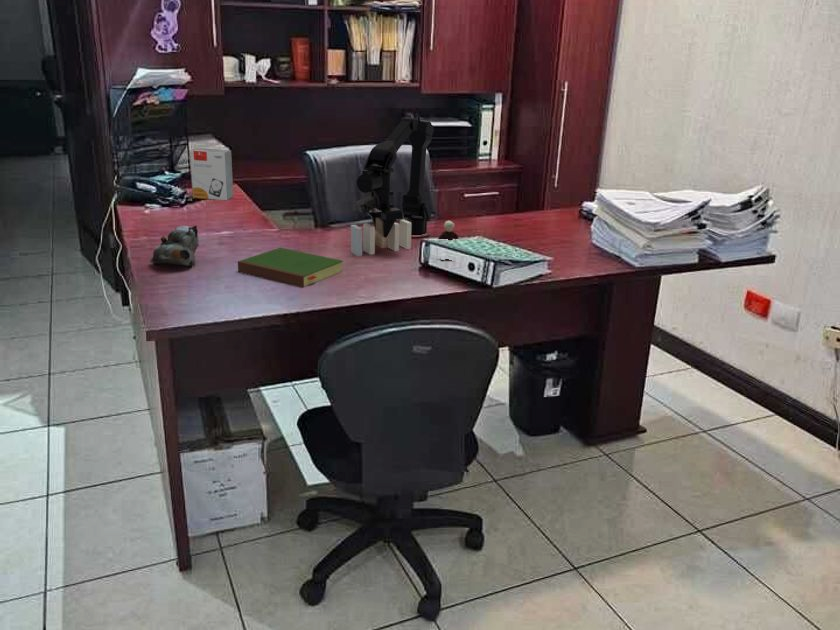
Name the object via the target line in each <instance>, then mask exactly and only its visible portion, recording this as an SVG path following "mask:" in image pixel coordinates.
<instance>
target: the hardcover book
mask: <svg viewBox="0 0 840 630" xmlns="http://www.w3.org/2000/svg"><path fill="white" fill-rule="evenodd" d="M343 262H344V260H341V259H336V258H331V257H327V256H323V255H316V254H313V253H308V252H303V251H300V250H299V251H298V250H293V249H289V248H284V247H278V248H275V249H272V250H268V251H266V252H263V253H260V254H256V255H254V256H251V257H248V258H244V259H242V260H238V261H237V272H238V273H240V272H242V273H241V274H244V273H246V274H245V275H248V274H250V275H249V276H253V275H254V276H253V277H256V278H257V277H258V278H261V277H262V278H261V279H266V280H269V281H273V282H277V283H278V282H279V283H283V284H286V285H291V286H294V287H299V288H304V287H307V286H309V285H311V284H315V283H317V282H319V281H322V280H324V279H326V278H328V277H332V276H334V275H336V274H339V273H341V272H342V271H343Z"/></svg>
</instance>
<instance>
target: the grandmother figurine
mask: <svg viewBox="0 0 840 630" xmlns="http://www.w3.org/2000/svg"><path fill="white" fill-rule="evenodd" d="M443 228H444V230H445V231H443V232H442V233H441V234H440V235H439V237H438V238H437V240H438V239H448V240H453V241H454V240H456V239H459V240H460V238H459V237H460V236H459V235H458V234H457V233H456V232H454V231H453V229H454V228H455V223H454V222H453V221H451V220H446V221H445V222H444V224H443Z"/></svg>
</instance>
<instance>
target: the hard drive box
mask: <svg viewBox="0 0 840 630" xmlns="http://www.w3.org/2000/svg"><path fill="white" fill-rule="evenodd" d="M232 159H233V158H232V150H230V149H220V148H218V149H216V148H215V149H214V148H203V147H196V148H191V149H189V161H190V162H189V163H190V178H191V189H192V190H191V191H192V193H191V194H192V198H193V199H199V200H202V199H203V200H204V199H205V200H217V201H229V200H230V199H232V198H234V182H233V181H234V179H233V178H234V177H233V165H232V164H233V161H232Z"/></svg>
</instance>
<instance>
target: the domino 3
mask: <svg viewBox="0 0 840 630" xmlns="http://www.w3.org/2000/svg"><path fill="white" fill-rule="evenodd" d="M375 246H378V247H380V248H381V249H386V248H388V236H387V237H385V238H384V236H383V228H382V222H381V221H380V219H379V218H378V217H377V218H376V231H375Z"/></svg>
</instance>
